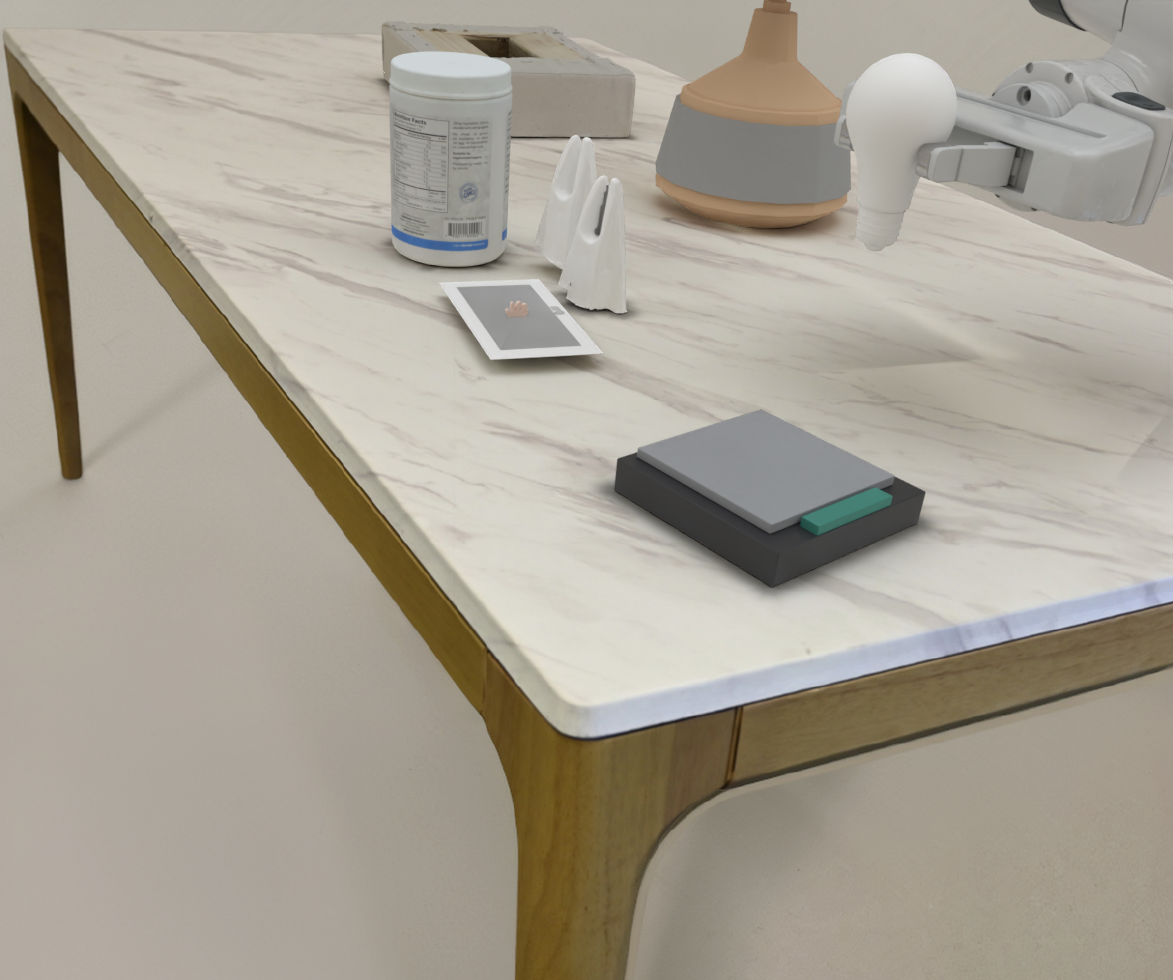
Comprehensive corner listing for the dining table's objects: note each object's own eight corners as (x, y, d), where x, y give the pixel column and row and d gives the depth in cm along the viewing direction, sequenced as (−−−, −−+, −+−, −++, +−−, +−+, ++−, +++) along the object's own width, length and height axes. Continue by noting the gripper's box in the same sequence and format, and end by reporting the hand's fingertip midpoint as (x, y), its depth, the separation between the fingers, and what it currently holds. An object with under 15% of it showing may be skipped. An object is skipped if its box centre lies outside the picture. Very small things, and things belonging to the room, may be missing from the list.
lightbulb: (859, 270, 70) (899, 64, 64) (803, 237, 75) (835, 43, 69) (946, 263, 72) (992, 64, 66) (886, 232, 77) (924, 44, 71)
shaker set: (530, 264, 100) (538, 123, 94) (579, 262, 102) (589, 123, 96) (577, 316, 91) (589, 163, 85) (629, 313, 92) (644, 163, 86)
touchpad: (490, 375, 80) (491, 343, 79) (438, 296, 92) (438, 268, 91) (602, 368, 83) (604, 338, 82) (538, 292, 95) (539, 265, 93)
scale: (918, 523, 68) (929, 481, 66) (772, 587, 61) (780, 542, 59) (759, 441, 75) (766, 402, 74) (613, 490, 68) (617, 448, 67)
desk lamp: (718, 171, 132) (772, -238, 112) (881, 210, 123) (970, -226, 104) (604, 207, 116) (644, -260, 97) (782, 255, 108) (864, -247, 88)
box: (378, 80, 159) (437, 138, 134) (378, 15, 155) (439, 62, 130) (547, 85, 167) (633, 141, 142) (551, 23, 163) (641, 69, 138)
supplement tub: (432, 227, 107) (433, 45, 99) (527, 249, 104) (536, 63, 96) (367, 253, 99) (363, 60, 91) (467, 279, 96) (472, 80, 88)
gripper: (944, 51, 82) (780, 54, 76) (1207, 119, 67) (1031, 131, 61) (923, 148, 85) (765, 159, 79) (1169, 234, 71) (999, 256, 64)
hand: (883, 148), depth 70 cm, fingers closed on lightbulb, 6 cm apart
